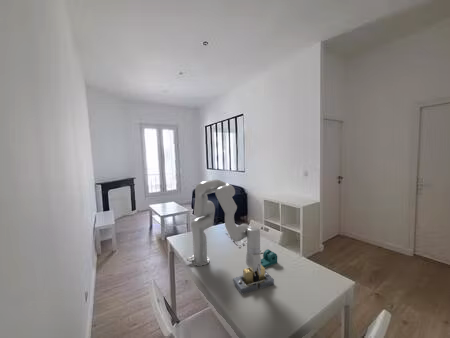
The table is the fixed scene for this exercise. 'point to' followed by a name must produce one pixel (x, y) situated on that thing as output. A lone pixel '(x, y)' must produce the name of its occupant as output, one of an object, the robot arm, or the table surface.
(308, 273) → the table surface
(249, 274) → the yellow rectangular block
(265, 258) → the bracket
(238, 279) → the grey pocketed fixture tray
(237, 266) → the table surface
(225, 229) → the miniature set
